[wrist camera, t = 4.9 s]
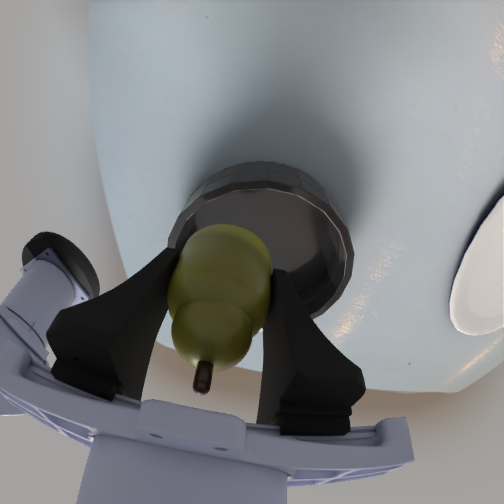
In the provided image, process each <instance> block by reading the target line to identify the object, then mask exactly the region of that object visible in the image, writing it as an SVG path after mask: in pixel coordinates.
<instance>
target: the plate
mask: <svg viewBox="0 0 504 504" xmlns="http://www.w3.org/2000/svg"><path fill="white" fill-rule="evenodd" d="M449 311H450V319H451V321H452V322H453V324H454V326H455V328H456V329H457V330H459V331H460V332H462V333H464V334H466V335H483V334H487V333H492V332H494V331H496V330H498V329H501V328H503V327H504V194H503V195H502V196H501V197H500V198H499V199H498V200H497V202H496V203H495V205H494V206H493V208H492V209H491V210H490V212H489V213H488V215H487V216H486V217H485V219H484V220H483V221H482V223H481V224H480V226H479V228H478V229H477V231H476V233H475V235H474V237H473V239H472V240H471V242H470V244H469V246H468V247H467V249H466V251H465V252H464V255H463V258H462V260H461V263H460V265H459V267H458V270H457V272H456V275H455V277H454V280H453V285H452V289H451V294H450V298H449Z"/></svg>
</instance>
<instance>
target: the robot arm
mask: <svg viewBox="0 0 504 504" xmlns="http://www.w3.org/2000/svg"><path fill="white" fill-rule="evenodd" d="M178 260H179V249H174V248H169V247H167V248H166V249H164V250H163V251H162V252H161V253H160V254H159V255H158V256H157V257H155V258H154V259H153V260H152V261H151V262H150V263H148V264H147V265H146V266H145V267H143V268H142V269H141V270H140V271H138V272H137V273H136V274H134V275H133V276H132V277H130V278H129V279H128V280H126V281H125V282H123V283H122V284H120V285H119V286H117V287H115V288H114V289H112V290H110V291H108V292H106V293H104V294H102V295H100V296H98V297H96V298H93V299H91V300H89V301H87V300H88V299H89V295H88V294H87V293H86V292H85V290H84V289H83V288H82V287H81V286H80V284H79V283H78V282H77V281H76V279H75V278H74V277H73V276H72V274H71V273H70V272H69V271H68V269H67V268H66V267H65V265H64V264H63V263H62V261H61V260H60V259H59V257H58V256H57V255H56V253H55V252H54V251H53V249H52V248H50V247H49V248H47V249H46V250H44V251H43V252H42V253H40V254H39V255H38V256H36V257H35V258H34V259H32V260H31V261H30V262H29V263H27V264H26V265H25V266H23V267H22V268H21V269H20V271H21V273H22V274H23V277H22V278H21V279H20V281H19V282H18V283H17V284H16V286H15V287H14V288H13V289H12V290H11V292H10V293H9V294H8V296H7V297H6V298H5V300H4V301H3V302H2V304H1V305H0V416H5V415H6V416H9V415H10V416H19V415H25V414H26V413H27V414H29V415H30V416H32V417H34V418H35V419H37V420H39V421H40V422H42V423H44V424H45V425H47V426H49V427H51V428H52V429H54V430H56V431H58V432H60V433H61V434H63V435H65V436H67V437H69V438H71V439H73V440H75V441H77V442H79V443H81V444H83V445H85V446H88V447H90V448H91V449H90V453H89V456H88V460H87V463H86V467H85V471H84V474H83V478H82V482H81V486H80V490H79V494H78V498H77V503H76V504H287V487H288V486H306V485H318V484H327V483H335V482H342V481H350V480H356V479H361V478H367V477H374V476H379V475H384V474H386V473H388V472H391V471H394V470H396V469H398V468H400V467H403V466H405V465H407V464H409V463H411V462H413V461H414V455H413V449H412V443H411V438H410V433H409V428H408V423H407V418H406V417H405V416H404V417H394V418H387V419H384V420H381V421H380V422H378V423H377V424H376V425H375V426H360V427H350V420H349V416H350V415H351V414H352V410H351V406H352V405H354V404H355V403H356V402H357V401H358V400H359V399H360V398H361V397H362V396H363V395H364V393H365V391H366V387H365V382H364V377H363V374H362V370H361V369H360V368H359V367H358V366H357V365H355V364H354V363H353V362H351V361H350V360H349V359H348V358H346V357H345V356H344V355H343V354H342V353H341V352H340V351H339V350H338V349H337V348H336V347H335V346H334V345H333V344H332V343H331V342H330V341H329V340H328V339H327V338H326V337H325V335H324V334H323V333H322V332H321V331H320V329H319V328H318V327H317V325H316V324H315V323H314V321H313V320H312V318H311V317H310V315H309V314H308V312H307V310H306V309H305V307H304V305H303V304H302V302H301V300H300V298H299V296H298V294H297V292H296V290H295V288H294V286H293V284H292V282H291V280H290V277H289V275H288V273H287V271H286V270H281V269H275V268H274V269H273V272H272V276H271V305H270V311H269V314H268V317H267V319H266V321H265V323H264V325H263V352H264V355H263V371H262V382H261V392H260V399H259V408H258V415H257V421H256V424H253V423H245V422H244V420H242V419H240V418H238V417H236V416H233V415H230V414H226V413H220V412H214V411H208V410H203V409H198V408H193V407H188V406H183V405H179V404H175V403H170V402H166V401H161V400H154V399H151V400H145V401H143V402H141V396H142V391H143V386H144V382H145V377H146V373H147V369H148V365H149V361H150V357H151V353H152V349H153V346H154V342H155V339H156V337H157V334H158V331H159V329H160V327H161V324H162V322H163V320H164V317H165V315H166V313H167V311H168V303H167V291H168V285H169V282H170V279H171V276H172V274H173V271H174V269H175V267H176V264H177V262H178ZM84 301H86V302H84ZM81 302H84V303H81ZM79 303H81V304H79ZM76 304H78V305H76ZM73 305H75V306H73ZM71 306H72V307H71ZM48 343H49V345H50V347H51V349H52V351H53V352H54V354H55V356H56V358H57V360H56V361H55V363H54V365H53V367H52V368H50V367H49V363H48V361H47V360H46V358H47V356H48V354H49V352H48V351H47V350H46V347H47V345H48Z"/></svg>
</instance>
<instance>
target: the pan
mask: <svg viewBox="0 0 504 504" xmlns="http://www.w3.org/2000/svg"><path fill="white" fill-rule="evenodd" d="M216 224H230V225H236V226H239V227H242V228H244V229H247V230H249V231H250V232H252V233H253V234H255V235H256V236H257V237H258V238H260V239H261V240H262V242H263V243H264V244H265V245H266V247H267V249H268V251H269V254H270V257H271V276H272V272H273V269H274V268H275V269H281V270H286V271H287V273H288V275H289V277H290V280H291V282H292V284H293V286H294V288H295V290H296V292H297V294H298V296H299V298H300V300H301V302H302V304H303V305H304V307H305V309H306V310H307V312H308V314H309V315H310V317H311V318H312V320H313V319H314V318H316V317H318V316H320V315H322V314H323V313H325V312H326V311H327V310H328V309H329V308H330V307H331V306H332V305H333V304H334V303H335V302H336V301H337V300H338V299H339V298H340V297H341V295H342V293H343V291H344V290H345V288H346V286H347V284H348V282H349V280H350V278H351V276H352V268H353V261H354V250H353V246H352V242H351V238H350V235H349V231H348V228H347V226H346V224H345V222H344V219H343V217H342V215H341V213H340V211H339V209H338V207H337V205H336V204H335V202H334V201H333V199H332V198H331V196H330V195H329V194H328V192H327V191H326V190H325V189H324V188H323V187H322V186H321V185H320V184H319V183H318V182H317V181H316V180H314V179H313V178H312V177H310V176H309V175H307V174H305V173H304V172H302V171H300V170H298V169H295V168H293V167H290V166H287V165H283V164H278V163H273V162H248V163H243V164H238V165H234V166H231V167H229V168H226V169H224V170H222V171H220V172H218V173H216V174H214V175H213V176H211V177H210V178H208V179H207V180H206V181H205V182H204V183H203V184H201V185H200V186H199V187H198V188H197V190H196V191H195V192H194V193H193V194H192V195H191V196H190V198H189V200H188V201H187V203H186V205H185V206H184V208H183V210H182V211H181V213H180V215H179V216H178V218H177V221H176V223H175V225H174V227H173V229H172V231H171V233H170V236H169V238H168V247H169V248H174V249H179V258H180V255H181V253H182V251H183V249H184V246H185V244H186V242H187V241H188V239H189V238H190V237H191V236H192V235H193V234H194V233H195V232H197V231H199V230H200V229H202V228H205V227H207V226H211V225H216ZM259 332H263V327H262V328H261V329H260V330H259Z"/></svg>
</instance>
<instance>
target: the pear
mask: <svg viewBox="0 0 504 504" xmlns="http://www.w3.org/2000/svg"><path fill="white" fill-rule="evenodd" d="M167 303H168V309H169V313H170V315H171V318H172V320H173V322H172V329H171V333H172V340H173V344H174V347H175V349H176V351H177V352H178V354H179V355H180V357H181V358H182V359H183V360H184V361H185V362H186V363H188V364H189V365H190V366H192V367H194V368H196V372H195V377H194V382H193V390H194V392H195V393H197V394H199V395H205V394H207V393H208V392H209V390H210V385H211V380H212V374H213V372H220V371H224V370H227V369H229V368H231V367H233V366H235V365H237V364H238V363H239V362H240V361H241V360H242V359H243V358H244V357H245V355H246V354H247V352H248V350H249V348H250V346H251V342H252V338H253V337H254V336H255V335H256V334H257V333H258V332H259V330H260V329H261V328H262V327H263V325H264V323H265V321H266V319H267V317H268V314H269V311H270V305H271V257H270V254H269V251H268V249H267V247H266V245H265V244H264V243H263V242H262V240H261V239H260V238H258V237H257V236H256V235H255V234H253V233H252V232H250V231H249V230H247V229H244V228H242V227H239V226H236V225H230V224H216V225H211V226H207V227H205V228H202V229H200V230H199V231H197V232H195V233H194V234H193V235H192V236H191V237H190V238H189V239H188V241H187V242H186V244H185V246H184V249H183V251H182V253H181V255H180V258H179V260H178V262H177V264H176V267H175V269H174V271H173V274H172V276H171V279H170V282H169V285H168V291H167Z"/></svg>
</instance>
